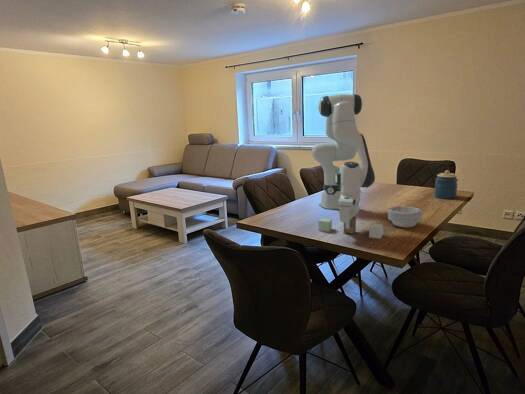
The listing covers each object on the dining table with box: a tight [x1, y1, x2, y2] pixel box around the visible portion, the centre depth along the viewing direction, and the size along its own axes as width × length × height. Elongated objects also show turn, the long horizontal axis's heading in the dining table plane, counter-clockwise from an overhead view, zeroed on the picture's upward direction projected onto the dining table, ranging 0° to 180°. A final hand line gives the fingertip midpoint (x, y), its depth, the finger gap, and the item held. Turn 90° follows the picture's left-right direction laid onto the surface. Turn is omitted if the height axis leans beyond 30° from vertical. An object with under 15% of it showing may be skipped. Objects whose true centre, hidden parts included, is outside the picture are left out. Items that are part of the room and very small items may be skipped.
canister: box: [433, 169, 459, 200], centre depth 216 cm, size 13×13×18 cm
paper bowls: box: [387, 205, 423, 228], centre depth 165 cm, size 15×15×8 cm
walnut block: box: [343, 216, 357, 235], centre depth 157 cm, size 4×4×7 cm
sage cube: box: [318, 217, 333, 233], centre depth 163 cm, size 5×5×5 cm
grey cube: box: [368, 223, 384, 240], centre depth 151 cm, size 5×5×5 cm
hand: (349, 226), depth 157 cm, fingers closed on walnut block, 4 cm apart
